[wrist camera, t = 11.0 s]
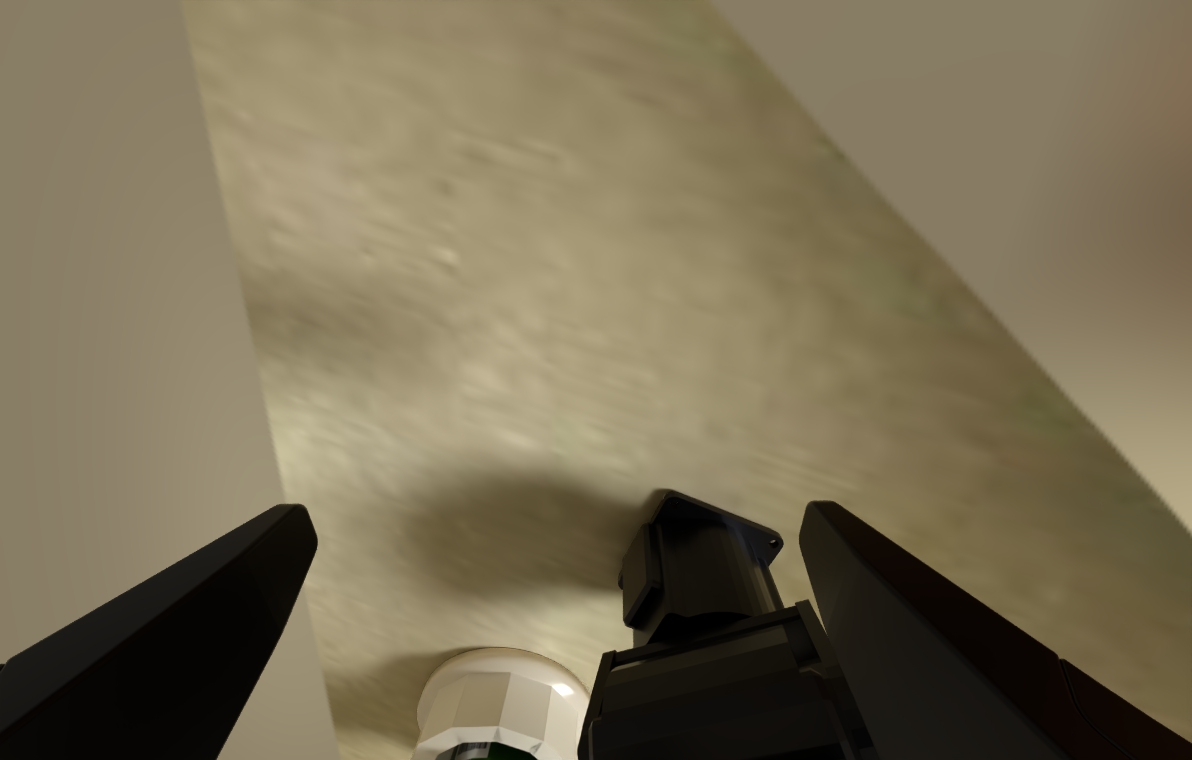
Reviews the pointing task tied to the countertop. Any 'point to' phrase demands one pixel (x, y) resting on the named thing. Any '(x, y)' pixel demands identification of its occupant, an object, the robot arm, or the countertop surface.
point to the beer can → (489, 752)
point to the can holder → (501, 705)
